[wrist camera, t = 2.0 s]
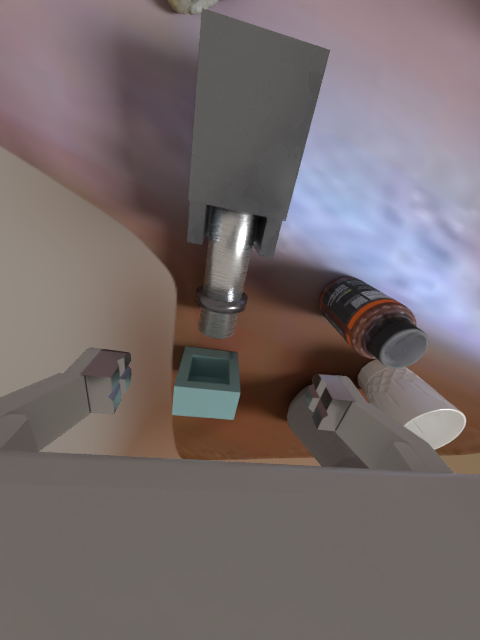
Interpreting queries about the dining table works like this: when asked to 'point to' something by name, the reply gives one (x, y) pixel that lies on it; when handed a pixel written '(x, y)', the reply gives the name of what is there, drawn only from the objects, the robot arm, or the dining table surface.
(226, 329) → the tube
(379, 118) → the dining table surface
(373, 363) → the white cup
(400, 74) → the dining table surface
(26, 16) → the dining table surface
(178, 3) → the pastry
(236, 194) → the sleeve
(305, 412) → the coffee pot
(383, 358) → the supplement bottle
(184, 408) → the socket
